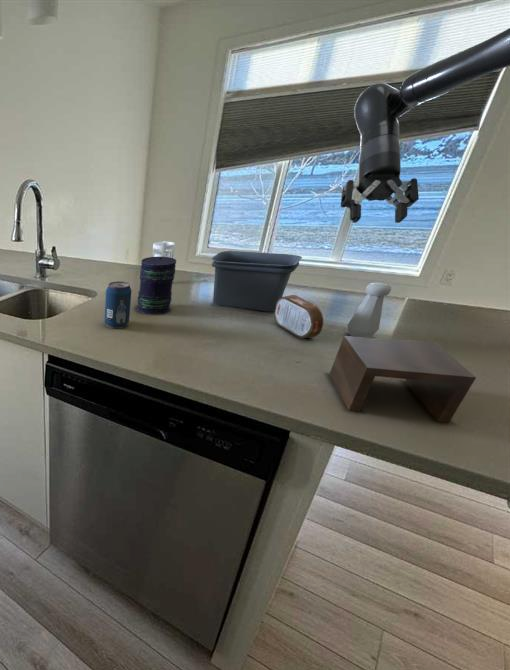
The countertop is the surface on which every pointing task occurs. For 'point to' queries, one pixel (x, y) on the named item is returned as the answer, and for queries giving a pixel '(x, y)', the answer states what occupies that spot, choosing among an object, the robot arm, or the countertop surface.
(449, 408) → the shelf
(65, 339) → the countertop surface
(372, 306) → the salt shaker
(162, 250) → the strainer
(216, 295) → the storage bin
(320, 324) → the tin
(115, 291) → the soda can
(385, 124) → the robot arm
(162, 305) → the storage jar
